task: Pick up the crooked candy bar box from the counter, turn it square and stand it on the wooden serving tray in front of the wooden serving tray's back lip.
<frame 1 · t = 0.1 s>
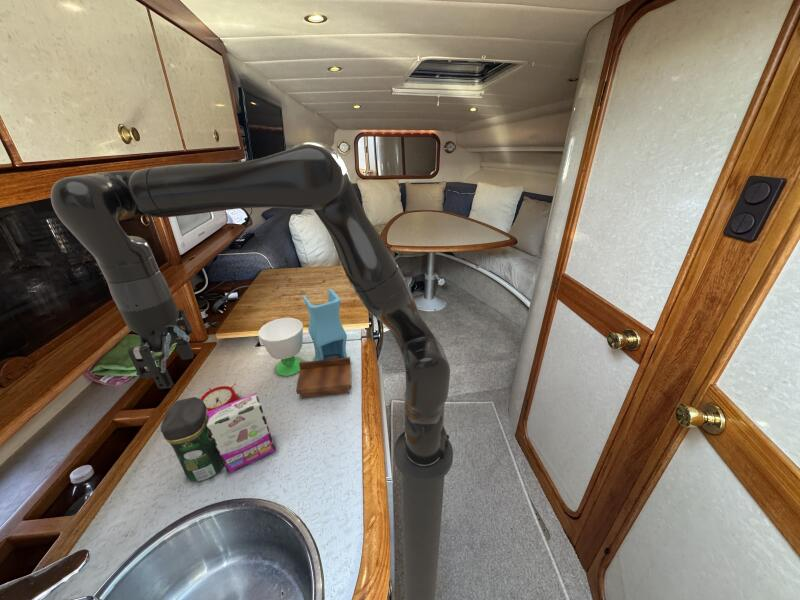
hand: (178, 371, 61), 30 cm above the counter, tool pointing down, fingers open, 8 cm apart
alarm clock: (220, 412, 91), on the counter
candy bar box: (251, 455, 78), on the counter
cup: (290, 367, 108), on the counter
blue forked stand: (331, 361, 110), on the counter
wooden serving tray: (326, 385, 99), on the counter
coffee jar: (207, 465, 76), on the counter
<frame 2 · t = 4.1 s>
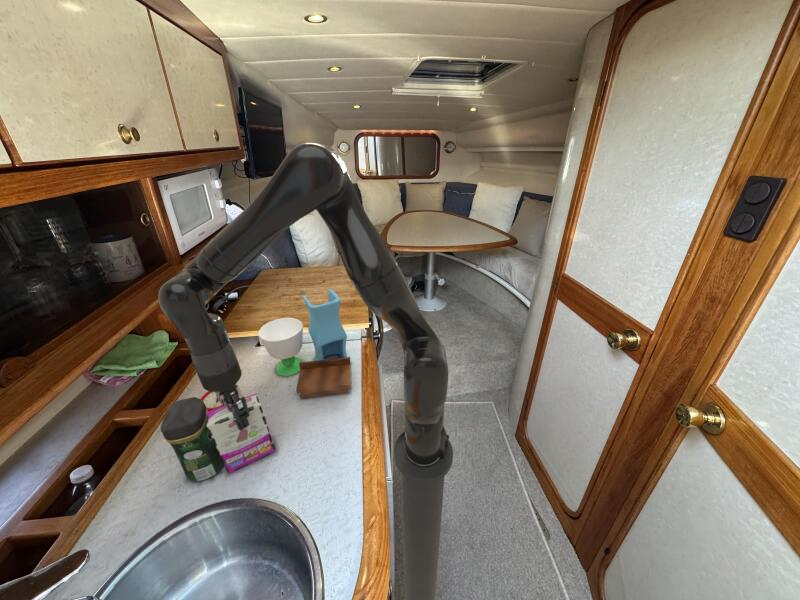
hand: (237, 419, 72), 13 cm above the counter, tool pointing down, fingers closed on candy bar box, 5 cm apart
candy bar box: (251, 455, 78), on the counter, touching gripper
everything else where it was.
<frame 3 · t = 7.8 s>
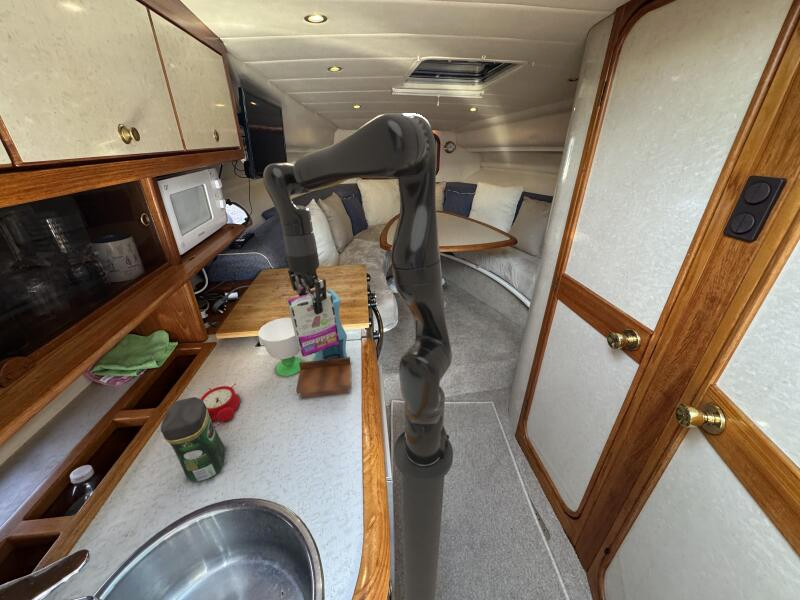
hand: (311, 309, 85), 28 cm above the counter, tool pointing down, fingers closed on candy bar box, 5 cm apart
candy bar box: (318, 347, 91), point 16 cm above the counter, touching gripper
everything else where it was.
when the fingers open (17 cm above the counter, at t = 11.6 s): candy bar box stays where it is, resting on wooden serving tray.
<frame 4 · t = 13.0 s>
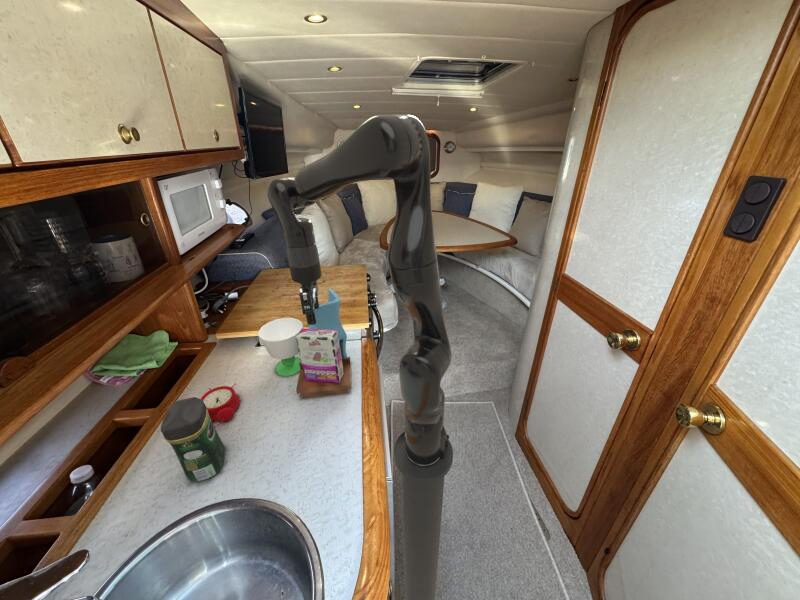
hand: (313, 315, 87), 26 cm above the counter, tool pointing down, fingers open, 8 cm apart
candy bar box: (324, 377, 97), point 4 cm above the counter, touching wooden serving tray
everything else where it was.
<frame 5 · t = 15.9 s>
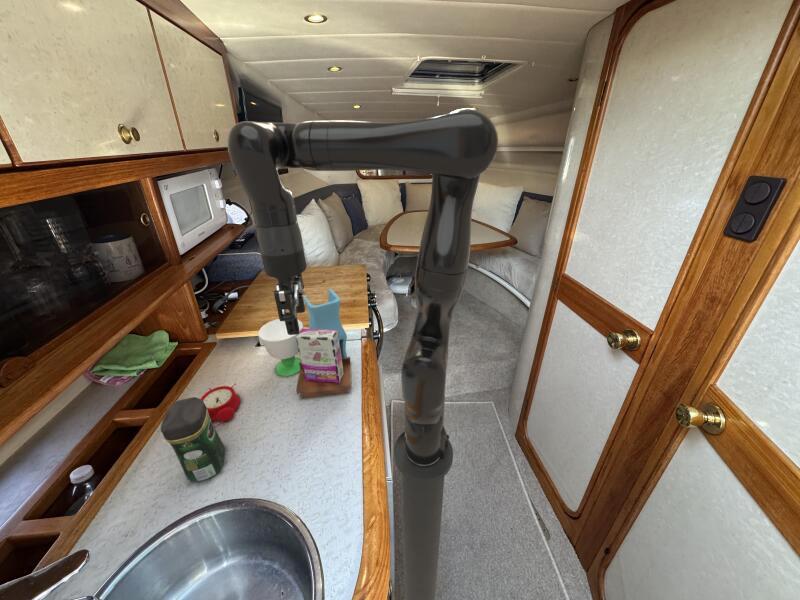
hand: (297, 322, 65), 36 cm above the counter, tool pointing down, fingers open, 8 cm apart
nothing on the counter moved.
at the end: candy bar box inside the target area on the wooden serving tray (0.1 cm from its centre), point 3.8 cm above the wooden serving tray's base; candy bar box tilted 0°; the gripper is holding nothing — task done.
